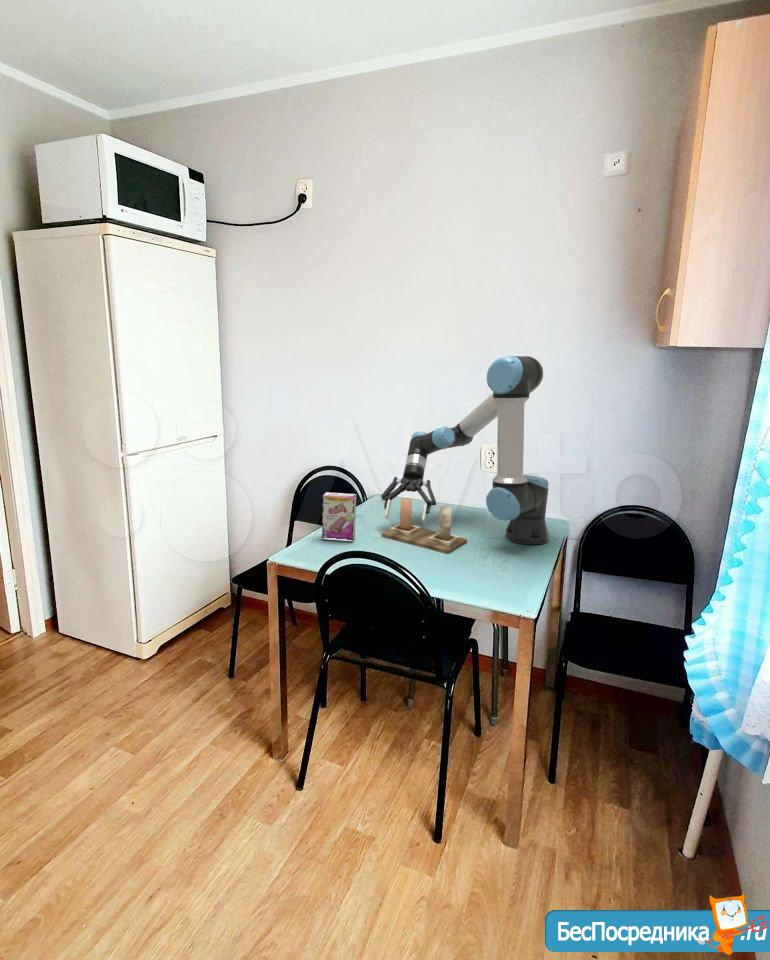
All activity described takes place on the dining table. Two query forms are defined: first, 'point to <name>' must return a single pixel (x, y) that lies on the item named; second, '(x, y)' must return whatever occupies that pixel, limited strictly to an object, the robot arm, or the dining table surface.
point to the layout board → (429, 535)
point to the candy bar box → (339, 515)
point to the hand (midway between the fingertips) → (404, 518)
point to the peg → (405, 514)
